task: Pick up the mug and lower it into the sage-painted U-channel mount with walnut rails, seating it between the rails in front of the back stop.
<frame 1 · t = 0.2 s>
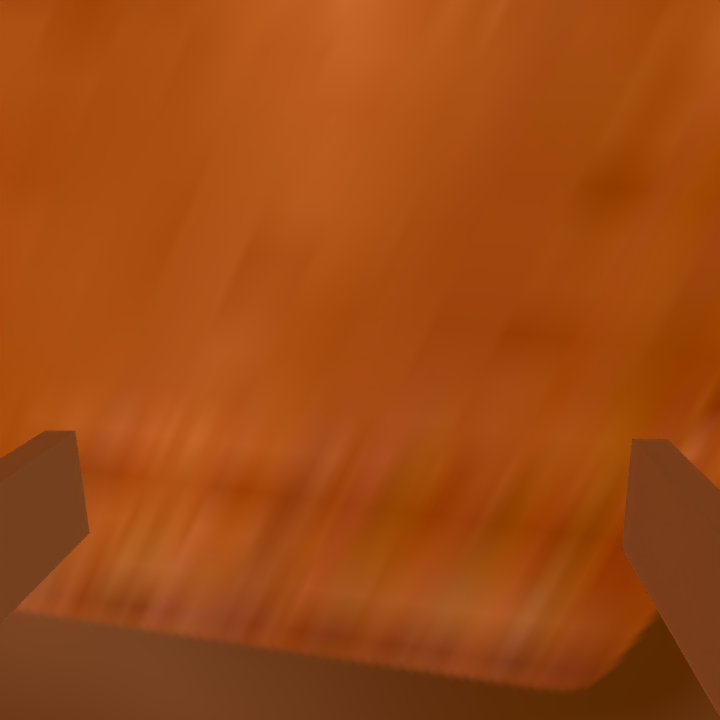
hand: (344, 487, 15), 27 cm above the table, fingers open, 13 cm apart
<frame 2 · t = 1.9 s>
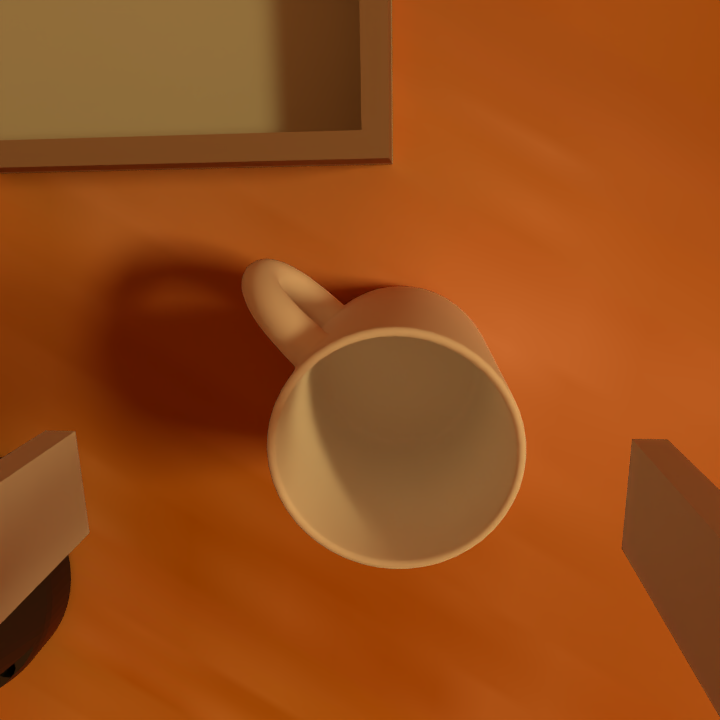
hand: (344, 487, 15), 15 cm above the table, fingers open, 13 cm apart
mug: (372, 340, 30), on the table
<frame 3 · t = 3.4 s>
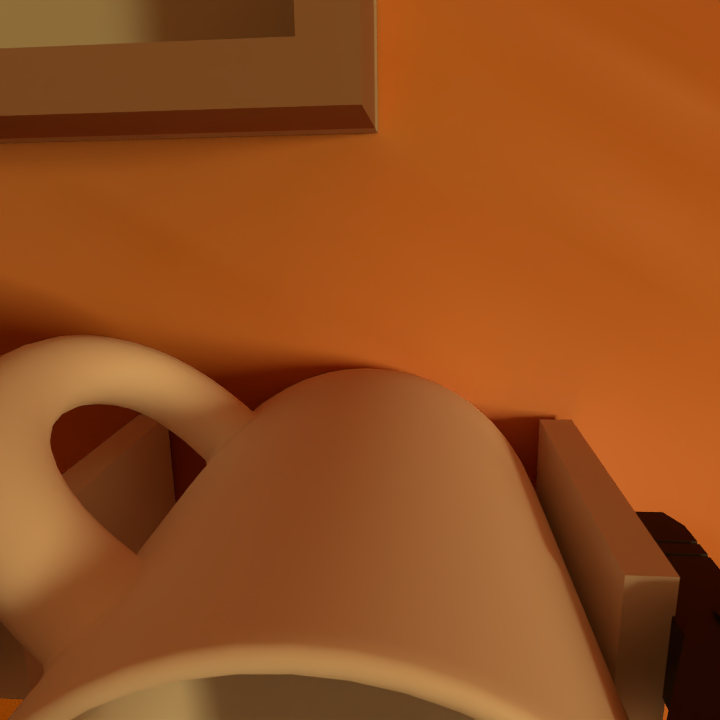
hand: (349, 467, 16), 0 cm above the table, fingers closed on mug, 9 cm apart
mug: (320, 460, 16), on the table, touching gripper
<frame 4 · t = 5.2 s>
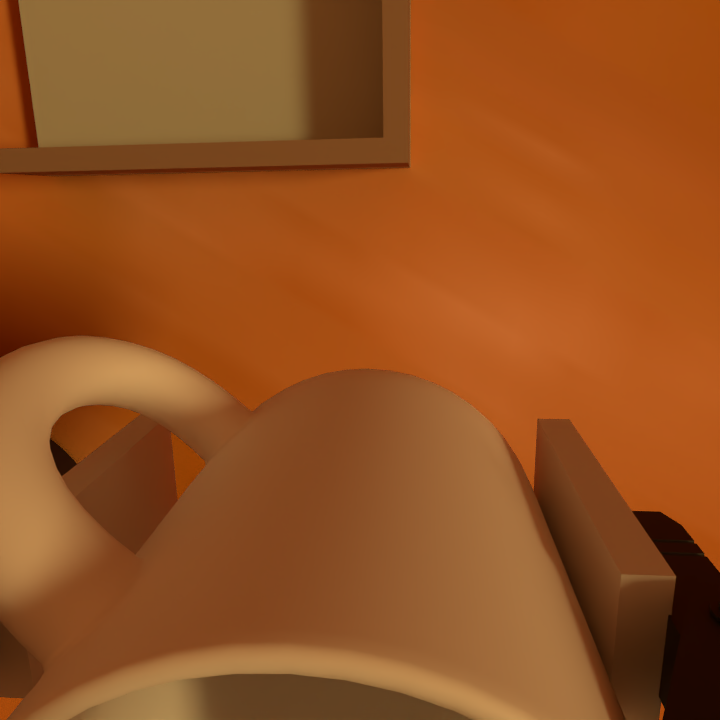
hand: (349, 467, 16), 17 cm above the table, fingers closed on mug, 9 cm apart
mug: (319, 460, 16), point 16 cm above the table, touching gripper
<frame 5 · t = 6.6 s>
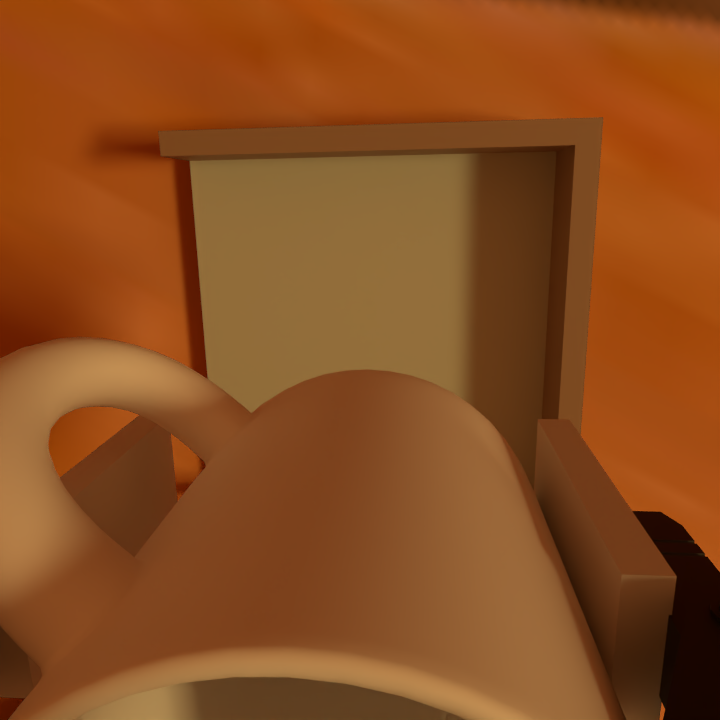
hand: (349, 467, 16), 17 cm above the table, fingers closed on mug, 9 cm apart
mount: (382, 331, 32), on the table
mug: (319, 461, 16), point 16 cm above the table, touching gripper
when the fingers open (3 cm above the table, at t = 9.1 s): mug drops 2 cm, resting on mount.
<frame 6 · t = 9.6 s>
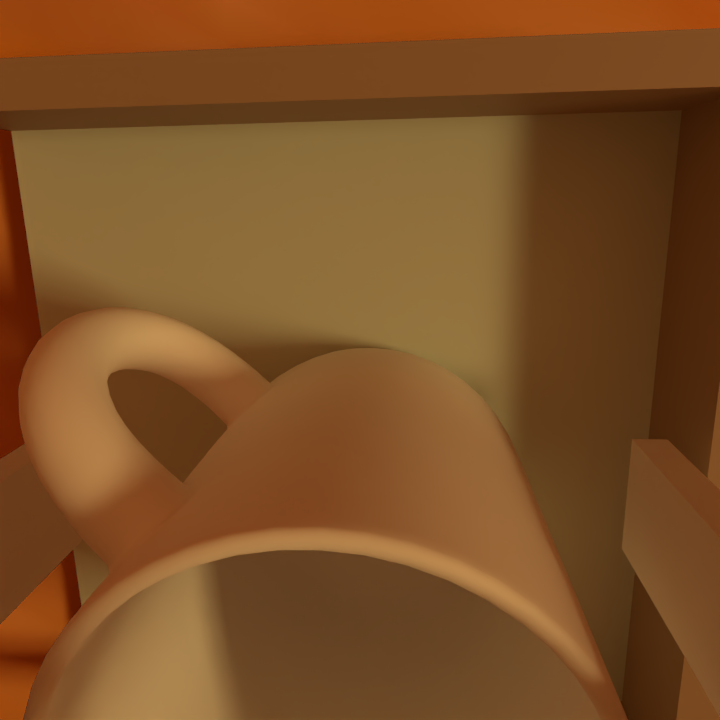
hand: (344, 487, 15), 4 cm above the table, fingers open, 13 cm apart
mount: (359, 425, 19), on the table
mug: (326, 432, 18), point 1 cm above the table, touching mount
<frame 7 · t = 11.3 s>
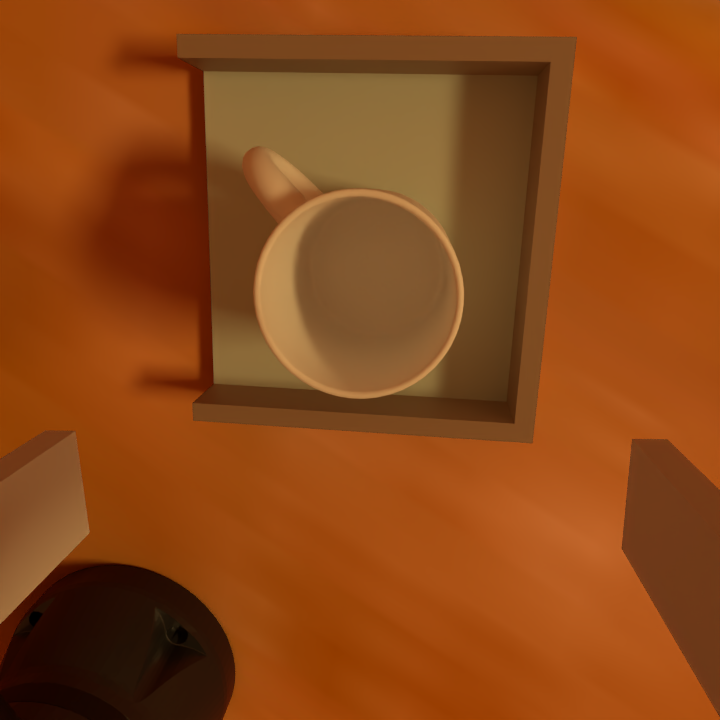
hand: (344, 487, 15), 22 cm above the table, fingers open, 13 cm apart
mount: (372, 242, 35), on the table
mug: (354, 241, 34), point 1 cm above the table, touching mount
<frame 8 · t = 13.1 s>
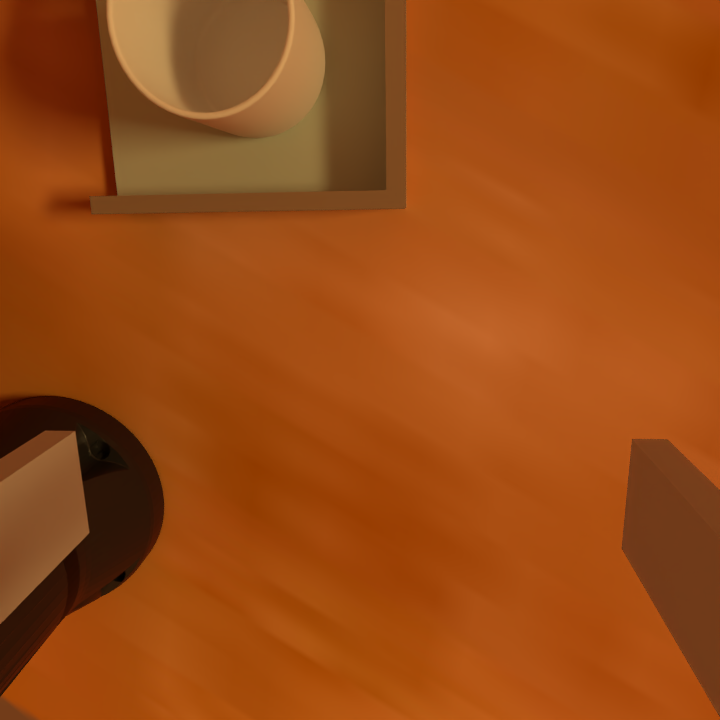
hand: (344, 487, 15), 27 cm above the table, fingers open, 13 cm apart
mount: (254, 45, 37), on the table
mug: (235, 41, 37), point 1 cm above the table, touching mount
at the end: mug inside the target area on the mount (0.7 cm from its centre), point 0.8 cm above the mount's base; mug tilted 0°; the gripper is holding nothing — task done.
